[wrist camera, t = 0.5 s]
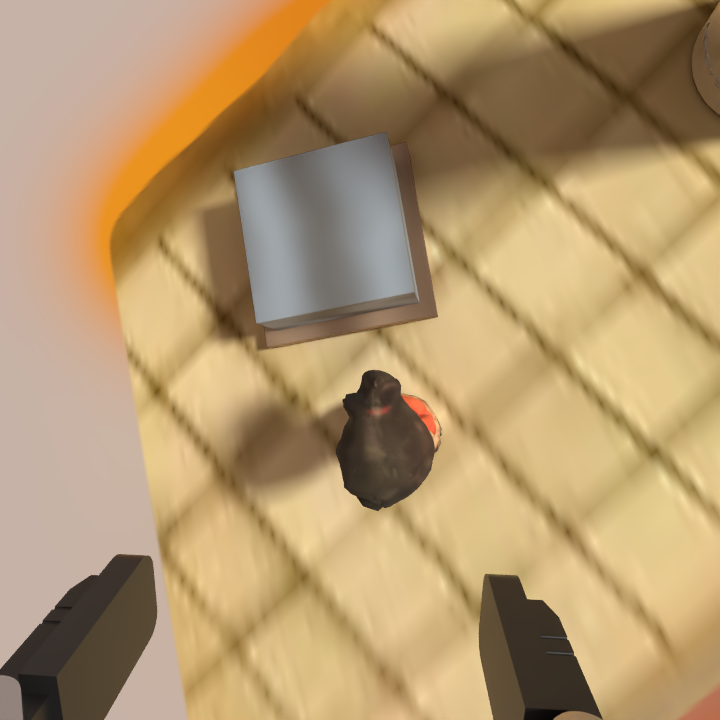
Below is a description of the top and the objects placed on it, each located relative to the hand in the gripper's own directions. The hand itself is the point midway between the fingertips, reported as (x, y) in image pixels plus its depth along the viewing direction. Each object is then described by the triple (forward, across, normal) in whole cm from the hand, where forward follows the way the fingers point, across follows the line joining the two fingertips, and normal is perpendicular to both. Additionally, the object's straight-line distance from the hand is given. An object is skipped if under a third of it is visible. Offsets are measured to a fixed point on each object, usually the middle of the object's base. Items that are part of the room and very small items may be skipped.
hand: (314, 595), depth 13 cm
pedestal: (+28, +2, -7) cm, 28 cm away
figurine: (+23, -3, +5) cm, 24 cm away
